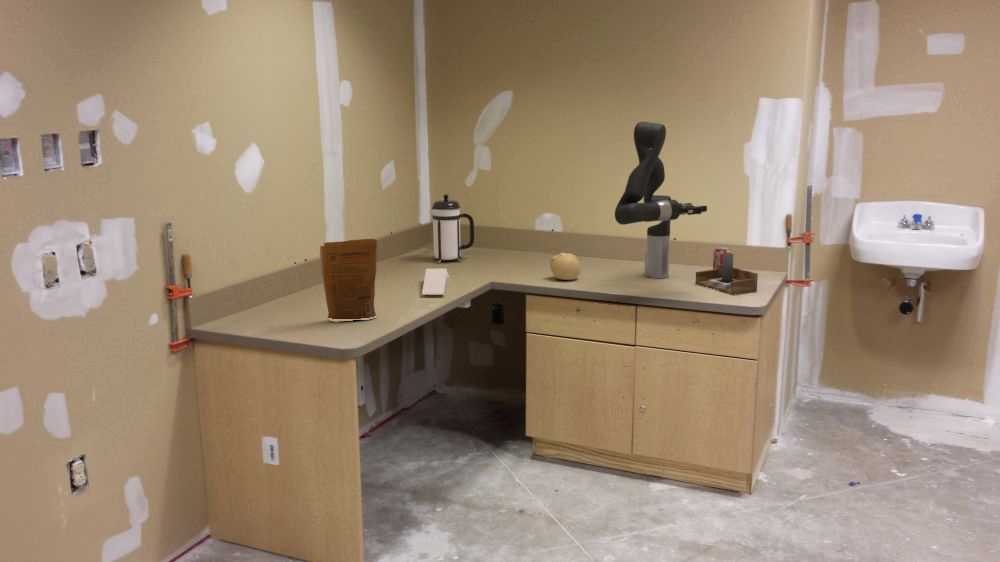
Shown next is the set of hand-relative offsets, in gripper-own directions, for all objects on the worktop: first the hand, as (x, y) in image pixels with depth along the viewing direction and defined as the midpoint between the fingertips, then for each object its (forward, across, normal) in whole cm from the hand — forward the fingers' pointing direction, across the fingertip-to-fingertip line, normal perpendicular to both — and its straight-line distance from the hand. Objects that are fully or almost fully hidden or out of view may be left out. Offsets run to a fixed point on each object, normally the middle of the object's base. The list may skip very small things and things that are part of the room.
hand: (698, 207), depth 334 cm
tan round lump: (-32, +42, +32) cm, 62 cm away
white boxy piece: (-85, +53, +33) cm, 106 cm away
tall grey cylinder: (+13, -3, +31) cm, 34 cm away
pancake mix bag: (-129, +25, +32) cm, 135 cm away
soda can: (+25, +13, +32) cm, 43 cm away
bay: (+13, -3, +32) cm, 35 cm away
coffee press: (-56, +101, +32) cm, 120 cm away
